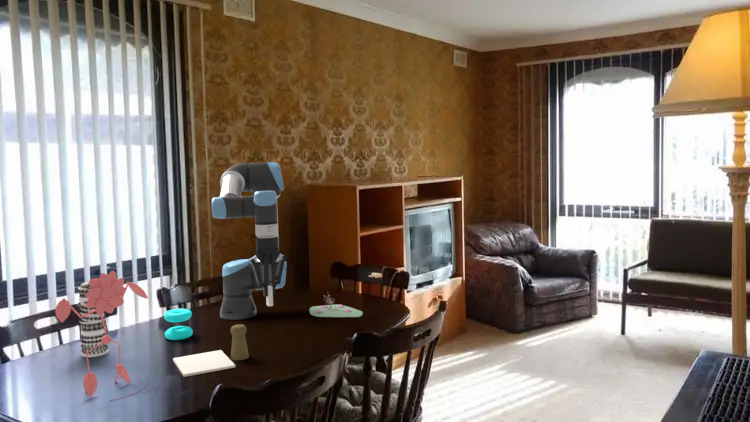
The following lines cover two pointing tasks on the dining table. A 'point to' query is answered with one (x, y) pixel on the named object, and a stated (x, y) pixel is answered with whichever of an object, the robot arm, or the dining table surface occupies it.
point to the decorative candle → (90, 326)
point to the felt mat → (203, 363)
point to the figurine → (105, 298)
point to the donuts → (178, 331)
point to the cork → (239, 343)
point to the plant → (334, 310)
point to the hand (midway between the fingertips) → (269, 305)
